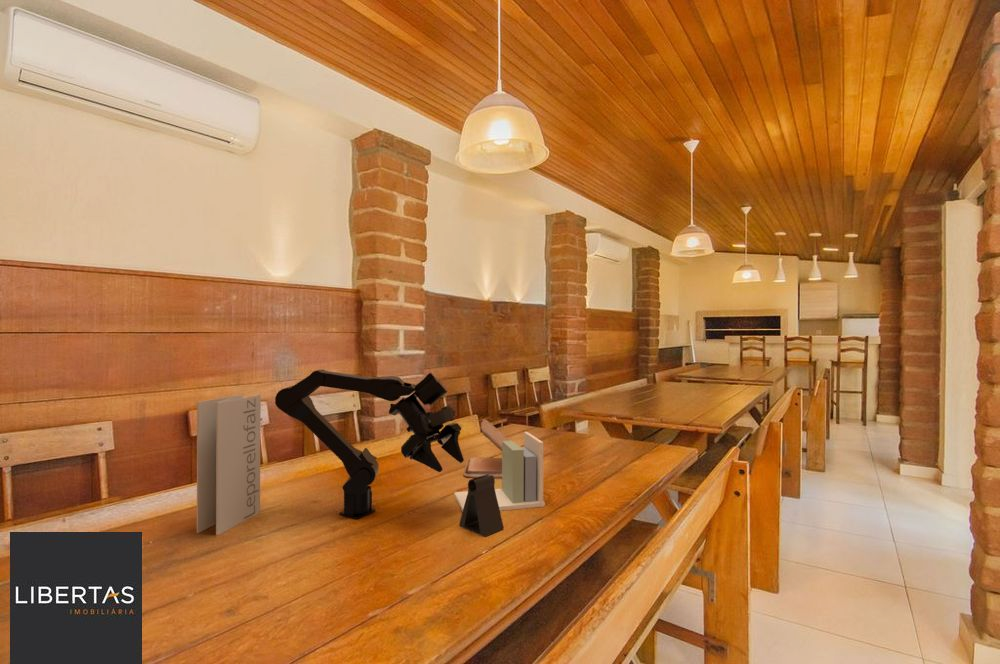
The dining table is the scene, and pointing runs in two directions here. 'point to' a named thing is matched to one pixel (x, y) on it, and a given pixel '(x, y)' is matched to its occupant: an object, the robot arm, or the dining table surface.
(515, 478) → the bookshelf
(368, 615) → the dining table surface
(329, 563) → the dining table surface
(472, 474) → the case
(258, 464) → the brochure
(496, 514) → the phone stand
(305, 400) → the robot arm
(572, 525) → the dining table surface
